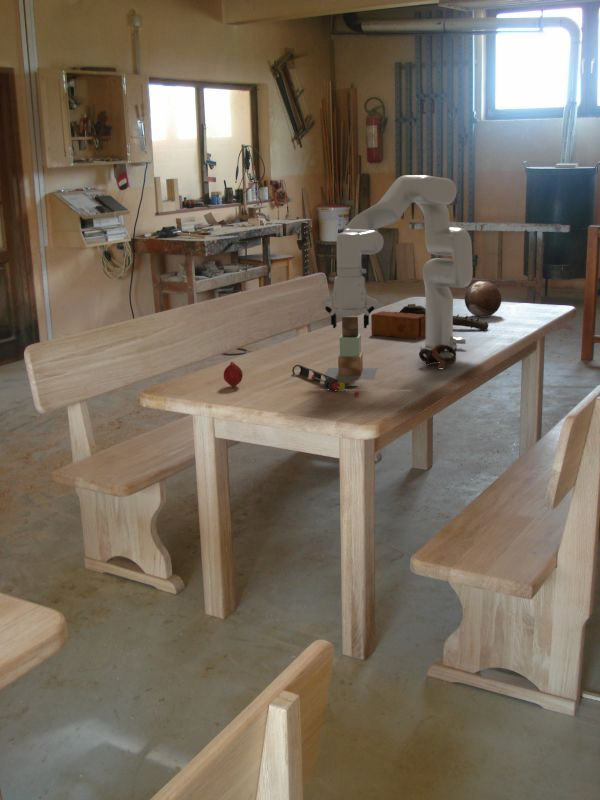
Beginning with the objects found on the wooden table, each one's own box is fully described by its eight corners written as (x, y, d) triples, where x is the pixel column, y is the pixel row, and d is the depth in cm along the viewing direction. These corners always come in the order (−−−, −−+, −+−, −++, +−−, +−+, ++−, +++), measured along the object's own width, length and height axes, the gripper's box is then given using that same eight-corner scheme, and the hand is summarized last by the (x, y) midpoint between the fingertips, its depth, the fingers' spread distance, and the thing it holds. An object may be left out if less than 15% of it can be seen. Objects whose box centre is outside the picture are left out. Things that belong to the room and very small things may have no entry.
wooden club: (488, 329, 365) (489, 304, 362) (487, 332, 360) (488, 306, 358) (389, 327, 376) (389, 302, 373) (387, 329, 371) (387, 304, 368)
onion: (226, 384, 290) (224, 359, 288) (244, 384, 290) (243, 359, 288) (222, 389, 285) (221, 363, 283) (241, 389, 284) (240, 363, 282)
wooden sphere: (458, 318, 388) (459, 282, 384) (472, 312, 400) (473, 277, 396) (493, 321, 380) (494, 284, 376) (506, 315, 392) (507, 279, 389)
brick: (416, 317, 346) (416, 340, 348) (427, 313, 353) (427, 336, 355) (370, 314, 357) (370, 336, 360) (381, 310, 364) (382, 331, 366)
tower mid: (360, 352, 300) (360, 334, 298) (359, 356, 294) (358, 337, 292) (342, 352, 301) (341, 333, 299) (339, 356, 295) (339, 337, 293)
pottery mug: (450, 364, 311) (458, 345, 306) (450, 382, 304) (458, 363, 299) (415, 355, 311) (422, 336, 305) (414, 374, 304) (422, 355, 298)
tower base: (362, 370, 302) (362, 352, 300) (360, 375, 295) (360, 357, 293) (341, 370, 303) (340, 352, 301) (338, 375, 296) (338, 356, 295)
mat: (377, 369, 304) (377, 368, 304) (374, 379, 291) (374, 378, 291) (328, 368, 307) (328, 367, 307) (322, 379, 294) (322, 377, 294)
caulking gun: (317, 365, 303) (290, 363, 298) (378, 389, 271) (349, 387, 266) (315, 377, 304) (288, 375, 299) (376, 402, 272) (347, 401, 267)
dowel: (358, 334, 298) (358, 315, 296) (357, 337, 293) (357, 318, 291) (343, 334, 299) (342, 315, 297) (341, 337, 294) (341, 318, 292)
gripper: (378, 271, 293) (378, 325, 297) (323, 271, 296) (324, 325, 300) (376, 274, 286) (376, 329, 290) (319, 274, 288) (321, 329, 293)
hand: (350, 327), depth 295 cm, fingers open, 9 cm apart
